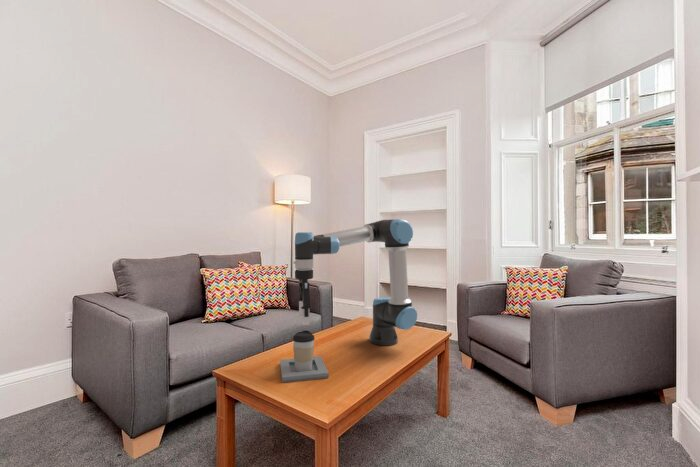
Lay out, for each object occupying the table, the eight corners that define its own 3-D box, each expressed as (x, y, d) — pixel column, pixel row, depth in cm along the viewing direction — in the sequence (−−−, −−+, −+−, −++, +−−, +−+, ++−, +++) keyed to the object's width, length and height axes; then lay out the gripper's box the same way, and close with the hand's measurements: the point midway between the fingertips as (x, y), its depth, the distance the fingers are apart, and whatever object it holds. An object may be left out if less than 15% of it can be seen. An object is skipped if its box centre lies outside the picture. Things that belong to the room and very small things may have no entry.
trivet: (320, 360, 149) (320, 356, 149) (328, 377, 132) (328, 372, 132) (280, 364, 145) (280, 359, 144) (282, 382, 127) (282, 377, 127)
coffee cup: (310, 374, 133) (310, 337, 133) (289, 372, 135) (289, 335, 134) (317, 365, 142) (317, 330, 142) (297, 363, 143) (297, 329, 143)
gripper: (292, 266, 149) (292, 313, 149) (297, 273, 125) (297, 329, 125) (309, 265, 151) (309, 312, 151) (317, 272, 127) (317, 327, 127)
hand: (304, 320), depth 138 cm, fingers open, 13 cm apart
